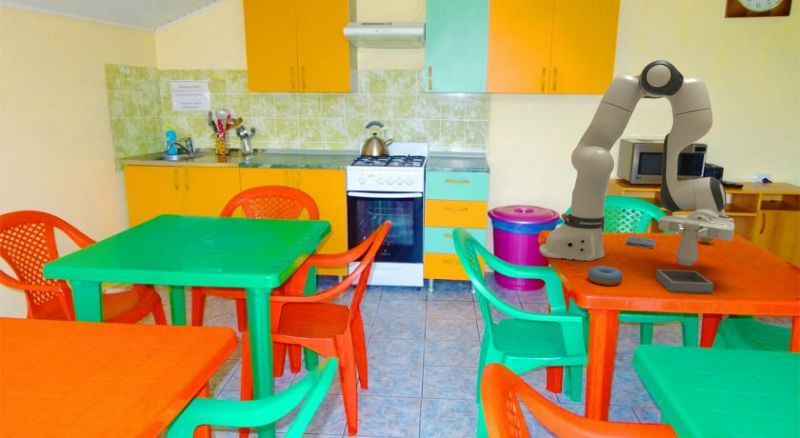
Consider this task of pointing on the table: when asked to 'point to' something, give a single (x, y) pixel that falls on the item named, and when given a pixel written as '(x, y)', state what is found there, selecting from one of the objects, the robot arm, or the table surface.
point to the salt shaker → (688, 244)
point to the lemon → (706, 240)
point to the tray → (684, 281)
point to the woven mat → (641, 242)
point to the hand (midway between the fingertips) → (689, 232)
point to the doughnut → (605, 275)
